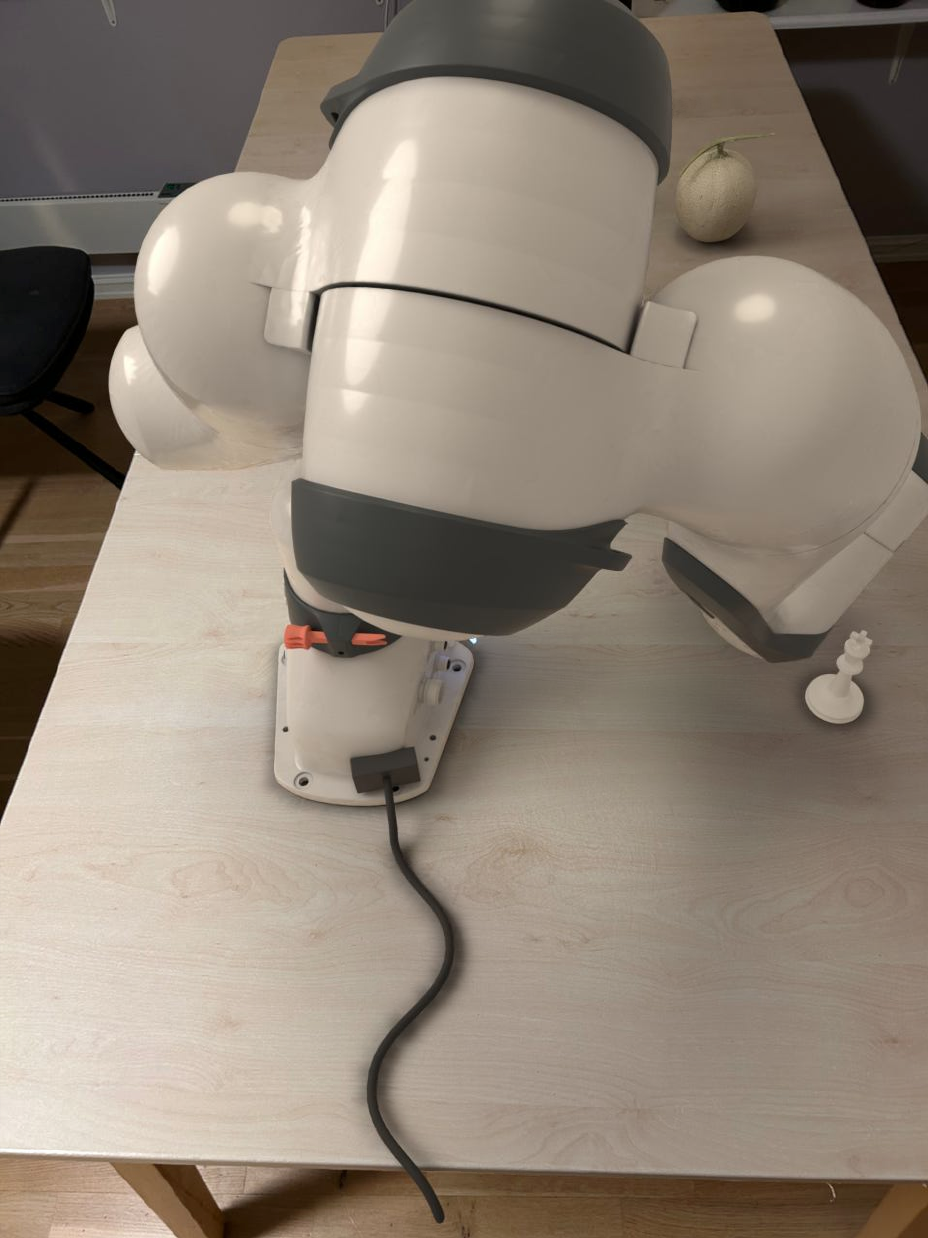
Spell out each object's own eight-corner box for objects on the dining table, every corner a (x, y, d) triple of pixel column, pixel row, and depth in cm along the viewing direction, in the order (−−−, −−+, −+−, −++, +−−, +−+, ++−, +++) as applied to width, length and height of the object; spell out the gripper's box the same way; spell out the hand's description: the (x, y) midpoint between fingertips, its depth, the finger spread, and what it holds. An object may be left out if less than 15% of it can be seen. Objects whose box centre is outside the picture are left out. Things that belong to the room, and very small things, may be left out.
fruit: (652, 229, 133) (663, 120, 121) (723, 209, 135) (741, 101, 123) (688, 265, 127) (703, 154, 115) (762, 244, 129) (785, 133, 117)
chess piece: (820, 668, 85) (848, 599, 78) (872, 695, 83) (906, 627, 75) (795, 704, 83) (821, 638, 75) (847, 733, 81) (880, 667, 73)
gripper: (917, 445, 68) (922, 467, 80) (667, 357, 76) (706, 389, 89) (876, 525, 70) (888, 535, 82) (635, 429, 78) (678, 451, 90)
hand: (792, 458), depth 85 cm, fingers open, 8 cm apart
